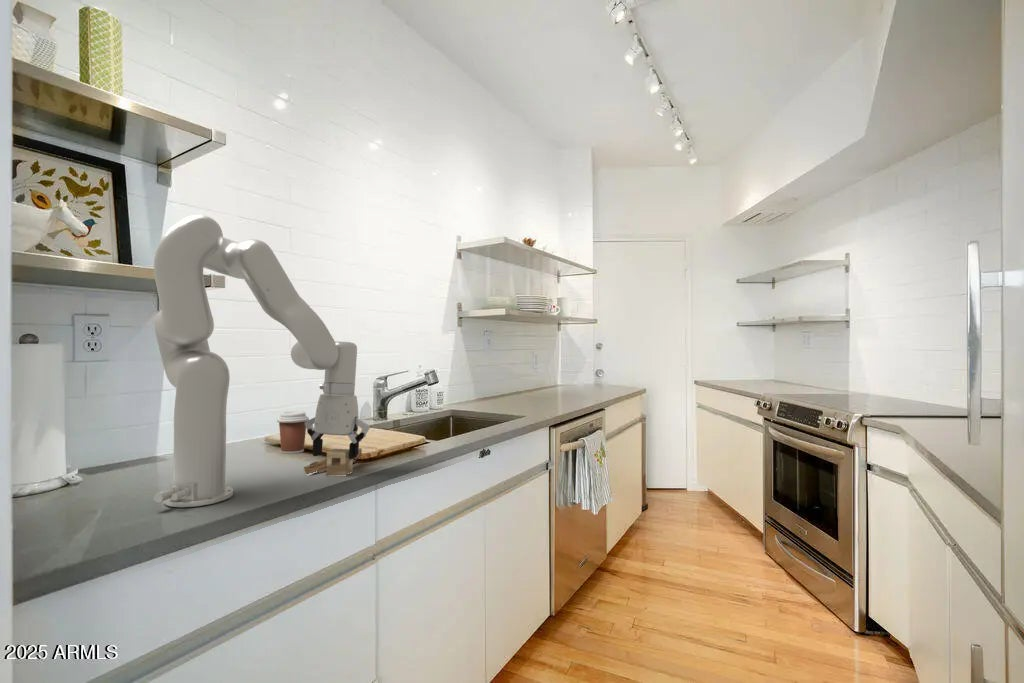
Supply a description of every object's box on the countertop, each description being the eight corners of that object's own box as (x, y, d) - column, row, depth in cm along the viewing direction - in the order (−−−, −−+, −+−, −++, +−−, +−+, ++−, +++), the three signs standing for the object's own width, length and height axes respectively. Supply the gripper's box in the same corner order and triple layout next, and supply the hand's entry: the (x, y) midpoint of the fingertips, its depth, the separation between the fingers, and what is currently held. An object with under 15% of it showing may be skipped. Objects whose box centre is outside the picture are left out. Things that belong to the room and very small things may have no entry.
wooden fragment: (340, 454, 154) (340, 450, 154) (373, 456, 151) (373, 453, 151) (283, 475, 128) (283, 471, 128) (322, 479, 126) (322, 475, 126)
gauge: (345, 476, 127) (345, 452, 127) (326, 475, 128) (326, 451, 128) (365, 465, 139) (366, 443, 139) (348, 464, 140) (349, 442, 140)
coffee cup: (269, 452, 153) (270, 413, 154) (294, 447, 162) (295, 409, 162) (290, 456, 149) (290, 415, 149) (315, 450, 157) (315, 411, 157)
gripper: (300, 388, 127) (295, 456, 126) (364, 392, 124) (360, 462, 124) (315, 387, 134) (311, 451, 134) (377, 390, 132) (373, 456, 131)
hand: (335, 456), depth 129 cm, fingers open, 9 cm apart
